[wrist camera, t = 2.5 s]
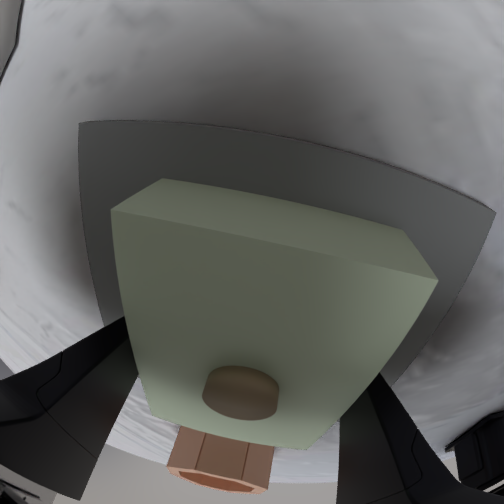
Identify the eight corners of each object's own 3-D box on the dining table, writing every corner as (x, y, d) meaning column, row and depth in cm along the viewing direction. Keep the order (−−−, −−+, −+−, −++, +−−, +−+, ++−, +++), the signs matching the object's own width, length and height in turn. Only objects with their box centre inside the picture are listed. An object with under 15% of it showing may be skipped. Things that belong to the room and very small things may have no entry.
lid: (402, 230, 6) (450, 298, 4) (309, 405, 11) (305, 461, 8) (162, 178, 7) (92, 221, 4) (170, 374, 11) (147, 426, 9)
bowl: (281, 437, 14) (274, 485, 11) (262, 461, 18) (255, 496, 15) (179, 414, 15) (162, 459, 12) (184, 444, 18) (173, 477, 15)
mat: (486, 205, 6) (496, 212, 6) (355, 413, 12) (356, 422, 12) (90, 120, 7) (78, 123, 6) (123, 361, 13) (118, 369, 12)
